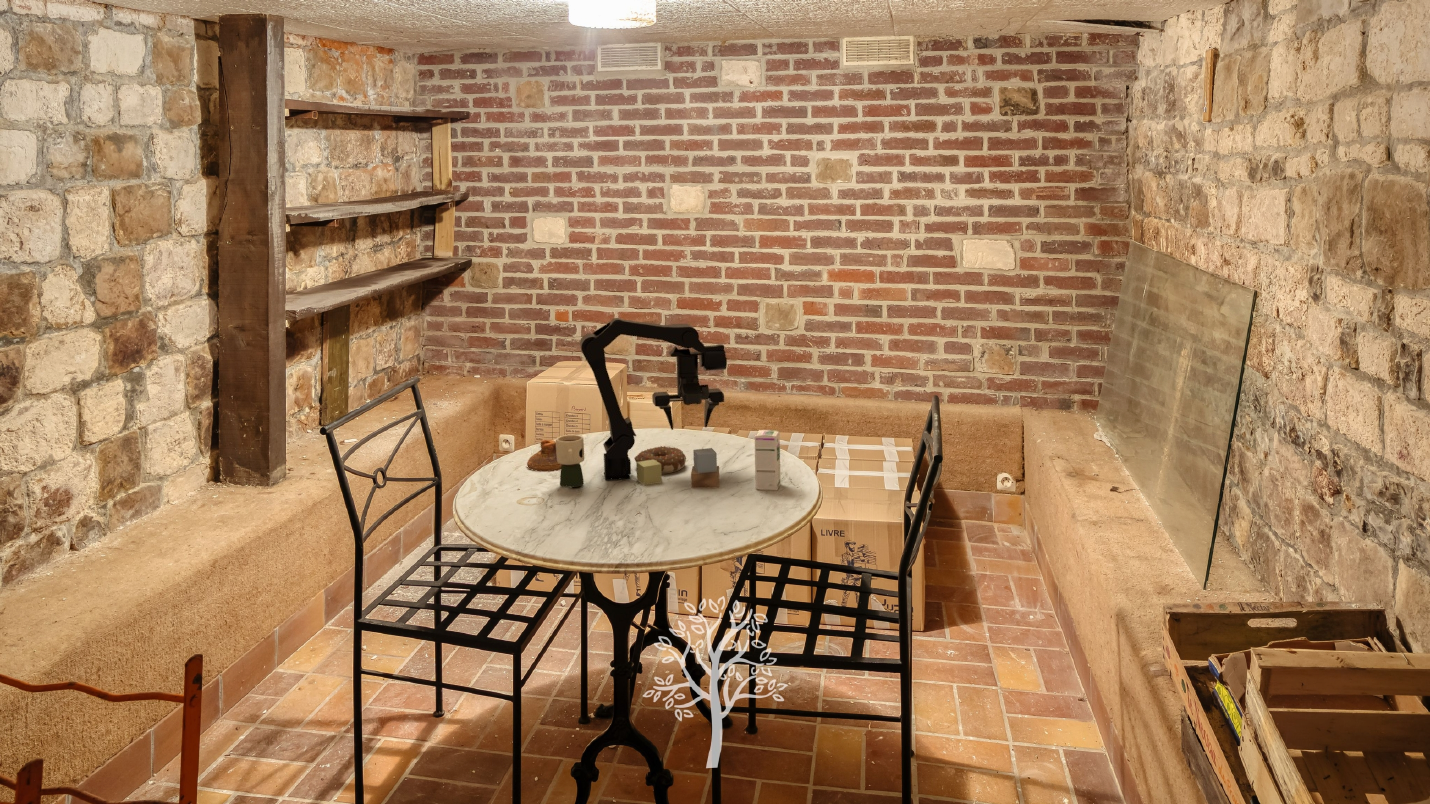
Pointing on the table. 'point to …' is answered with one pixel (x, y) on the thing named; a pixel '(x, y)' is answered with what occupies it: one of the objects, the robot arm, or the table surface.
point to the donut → (664, 458)
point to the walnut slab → (704, 479)
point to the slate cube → (705, 460)
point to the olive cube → (649, 472)
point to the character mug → (570, 459)
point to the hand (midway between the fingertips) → (688, 428)
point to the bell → (545, 457)
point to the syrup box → (767, 459)
